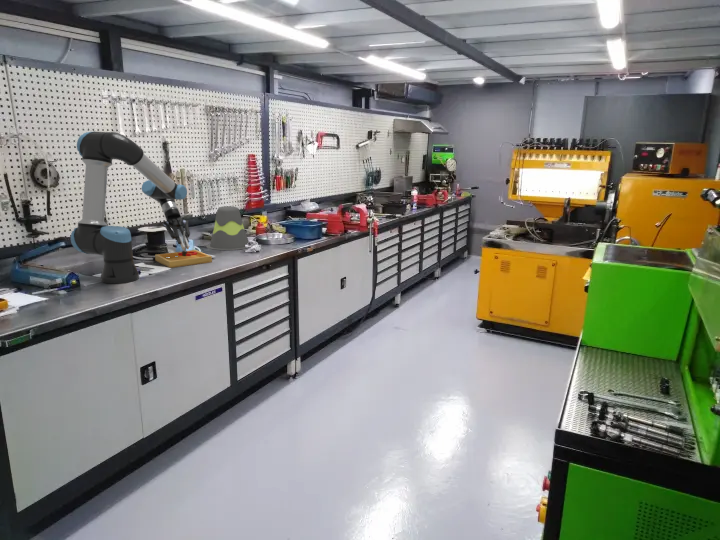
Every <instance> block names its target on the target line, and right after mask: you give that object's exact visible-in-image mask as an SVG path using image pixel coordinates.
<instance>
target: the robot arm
mask: <svg viewBox="0 0 720 540" xmlns="http://www.w3.org/2000/svg"><path fill="white" fill-rule="evenodd" d="M76 150H77V152H78V155H79V156H80V157H81V161H82V163H84V165H85V170H84V171H85V173H84V188H83V203H82V213H81V214H82V215H81V216H82V217H81V218H82V219H80V220H79V221H78V222H77V227H75V228H74V229H73V230H72V231H71V234H70V242H71V245H72V247H73V248H74V249H75V250H76V251H78V252H79V253H83V254H86V255H99V256H102V257H103V267H102V271H101V275H100V280H101V282H102V283H104V284H126V283H130V282H135V281H137V280H139V278H140V274H139V270H138V269H137V267H136V264H135V262H134V254H133V243H132V242H133V240H132V234H131V231H130V229H129V228H127V227H125V226H120V225H119V226H118V225H108V224H107V223H106V222H105V215H106V213H105V212H106V199H107V197H106V196H107V184H108V171H109V168H110V167H111V166H112V165H113V160H117V161H121V162H123V163H125V164H126V165H128V166H132V167H133V168H134V169H135V170H137V171H138V172H139V173H140V174H142V176H144V177H145V178H146V179H147V180H145V181H144V182H143V183H142V185H141V191H142V193H143V194H145V195H146V196H148V197H149V198H151V199H153V200H155V201H156V202H158V204H159V205H160V207H161V209H162V211H163V214H164V217H165V220H166V221H164V222H163V223H162V226H163V227H164V228H165V229H166V231H167V233H168V234H169V236H170V237H171V239H172V240H174V239H175V241H176V242H177V244H178V245H180V247H181V251H183V250H184V248H185V245H184V243H183V231H185V241H186V250H190V249H189V248H190V244H189V243H190V240H189V238H190V236H191V232H190V228H189V227H190V226H189V220H188V219H186V220H185V219H183V218H182V215H181V212H180V210H179V208H178V206H177V203H176V200H184V199H186V197H187V195H188V189H187V187H186V186H185V185H184V184H181V183H179V184H177V183H176V182H175V181H174V180H173V179H172V178H171V177H170V176H168V174H166V173H165V172H164V171H163V170H162V169H161V168H160V167H159V166H158V165H157V164H155V162H153V161H152V159H150V158H149V157H148V156H147V155H146V154H145V151H144V149H143V148H141V146H139V145H138V144H137V143H136V142H135V141H133V140H132V139H130V138H129V137H127V136H125V134H121V133H118V132H115V131H95V130H93V131H88V132H87V131H86V132H83V133H82V134H81V135H80V136H79V137H78V138H77V142H76ZM183 225H184V226H183ZM178 230H179V231H178ZM179 232H180V233H181V235H182V236H180V234H179Z"/></svg>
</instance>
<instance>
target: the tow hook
mask: <svg viewBox="0 0 720 540" xmlns="http://www.w3.org/2000/svg"><path fill="white" fill-rule="evenodd" d="M185 232H186V231H183V236H182V240H183V243H184V245H185V248H184V250H181V251H180V252H181V253H178V255H179V256H191V255H197V252H192V251H191V250H187V248H186V241H185ZM187 253H192V254H187Z"/></svg>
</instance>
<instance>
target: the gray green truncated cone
mask: <svg viewBox="0 0 720 540" xmlns="http://www.w3.org/2000/svg"><path fill="white" fill-rule="evenodd" d="M248 242H249V239H248V235H247V233H246V230H245V227H244V224H243V219H242V215H241V212H240V209H239V208H238V206H237V207H236V206H232V205H231V206H227V205H226V206H219V207H218V208H217V211H216V214H215V219H214V227H213V230H212V234H211V240H210V243H209V244H207V245H206V246H205V247H206V248H207V249H209V250H214V251H236V250H237V251H238V250H245V244H247V243H248ZM249 243H250V242H249Z"/></svg>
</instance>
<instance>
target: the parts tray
mask: <svg viewBox="0 0 720 540" xmlns="http://www.w3.org/2000/svg"><path fill="white" fill-rule="evenodd" d="M190 251H192V252H197V255H191V256H179V255H178V253H181V252H182V251H176V252H166V253H160V254H159V253H158V254H157V253H156V254H155V255H154V258H155V259H154V261H155V262H157V263H159V264H161V265H163V266H165V267H168V269H172V268H180V267H187V266H195V265H202V264H209V263H210V264H211V263H213V257H212V256H211V255H209V254H207V253H204V252H202V251H199V250H197V249H193V250H192V249H191V250H190ZM187 254H192V253H187ZM175 256H178V257H175ZM166 257H170V258H166Z"/></svg>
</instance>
